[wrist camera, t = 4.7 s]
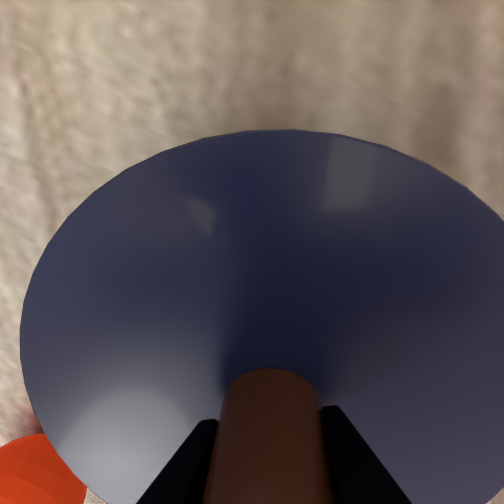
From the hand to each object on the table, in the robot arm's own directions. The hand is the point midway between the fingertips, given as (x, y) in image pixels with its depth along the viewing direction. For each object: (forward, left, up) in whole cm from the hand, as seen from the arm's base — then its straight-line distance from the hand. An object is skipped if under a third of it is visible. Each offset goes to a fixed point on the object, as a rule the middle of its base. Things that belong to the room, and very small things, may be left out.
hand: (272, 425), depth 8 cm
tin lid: (0, 0, -1) cm, 1 cm away
